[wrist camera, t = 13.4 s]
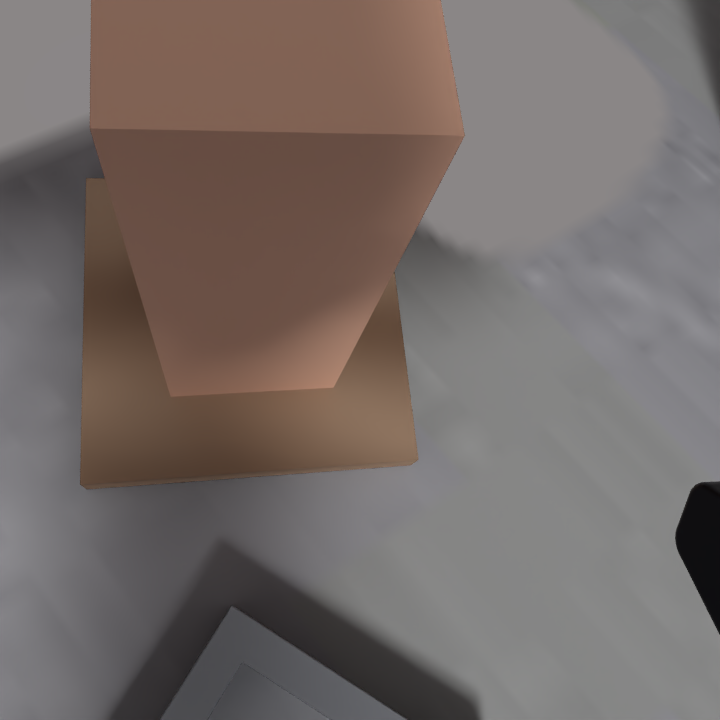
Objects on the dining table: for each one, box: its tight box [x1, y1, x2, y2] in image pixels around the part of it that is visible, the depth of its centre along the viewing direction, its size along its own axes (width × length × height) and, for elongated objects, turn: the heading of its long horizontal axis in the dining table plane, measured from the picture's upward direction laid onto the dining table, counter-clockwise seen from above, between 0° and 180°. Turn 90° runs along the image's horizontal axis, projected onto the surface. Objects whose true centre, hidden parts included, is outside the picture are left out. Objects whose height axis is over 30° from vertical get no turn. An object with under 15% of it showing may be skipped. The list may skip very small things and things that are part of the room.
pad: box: [80, 178, 418, 489], centre depth 23 cm, size 10×10×1 cm
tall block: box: [90, 0, 465, 397], centre depth 16 cm, size 5×5×13 cm
